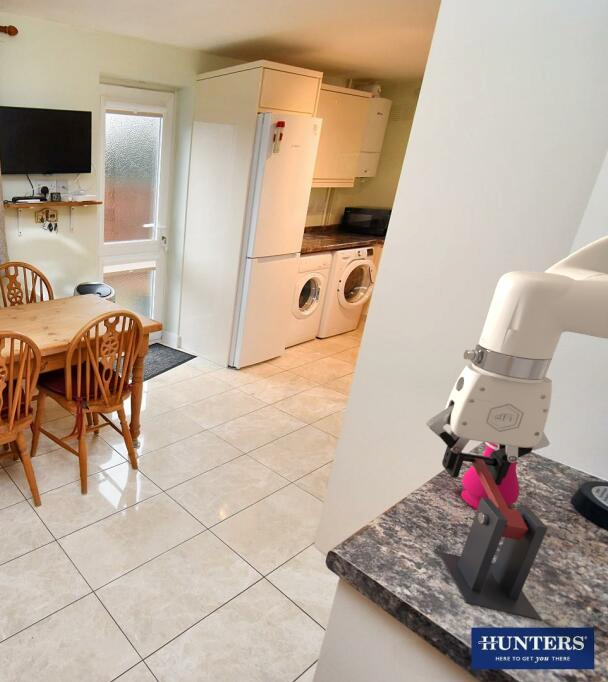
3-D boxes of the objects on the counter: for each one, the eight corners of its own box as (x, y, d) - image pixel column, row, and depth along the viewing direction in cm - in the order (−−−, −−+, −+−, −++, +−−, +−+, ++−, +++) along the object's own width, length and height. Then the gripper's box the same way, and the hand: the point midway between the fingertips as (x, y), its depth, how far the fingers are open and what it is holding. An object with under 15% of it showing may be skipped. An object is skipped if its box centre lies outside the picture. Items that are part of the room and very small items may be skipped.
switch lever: (454, 458, 67) (460, 447, 66) (489, 464, 66) (496, 453, 65) (488, 534, 57) (496, 523, 56) (530, 542, 56) (540, 531, 55)
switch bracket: (436, 557, 66) (460, 484, 62) (501, 571, 63) (530, 496, 59) (463, 608, 58) (493, 528, 54) (539, 626, 55) (576, 544, 51)
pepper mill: (445, 500, 78) (479, 397, 72) (472, 491, 81) (506, 391, 74) (492, 527, 72) (533, 417, 66) (519, 517, 74) (562, 410, 68)
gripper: (448, 364, 60) (414, 479, 66) (608, 382, 55) (556, 504, 61) (427, 347, 67) (398, 452, 72) (568, 361, 62) (525, 473, 68)
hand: (471, 475), depth 66 cm, fingers closed on switch lever, 4 cm apart
